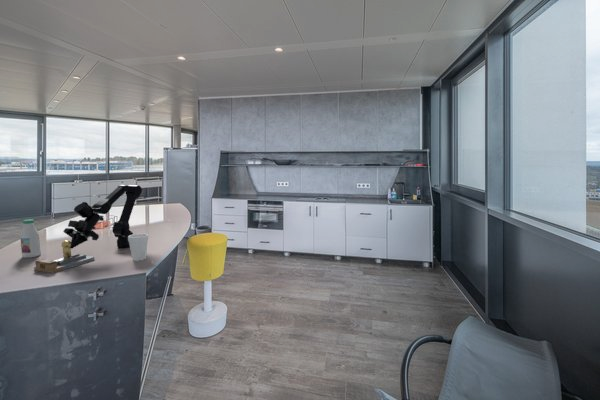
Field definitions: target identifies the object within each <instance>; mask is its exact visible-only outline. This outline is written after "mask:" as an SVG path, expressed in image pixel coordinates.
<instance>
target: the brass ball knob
mask: <svg viewBox="0 0 600 400" xmlns="http://www.w3.org/2000/svg"><path fill="white" fill-rule="evenodd" d="M61 247H62V254H63V255H62V257H61V258H58V260H57V259H55V260H53V261H56V262H57V265H58V264H59V262H61V261H64V260H68V259H71V258H73V257H71V256H72V249H71V240H63V242H61Z"/></svg>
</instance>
